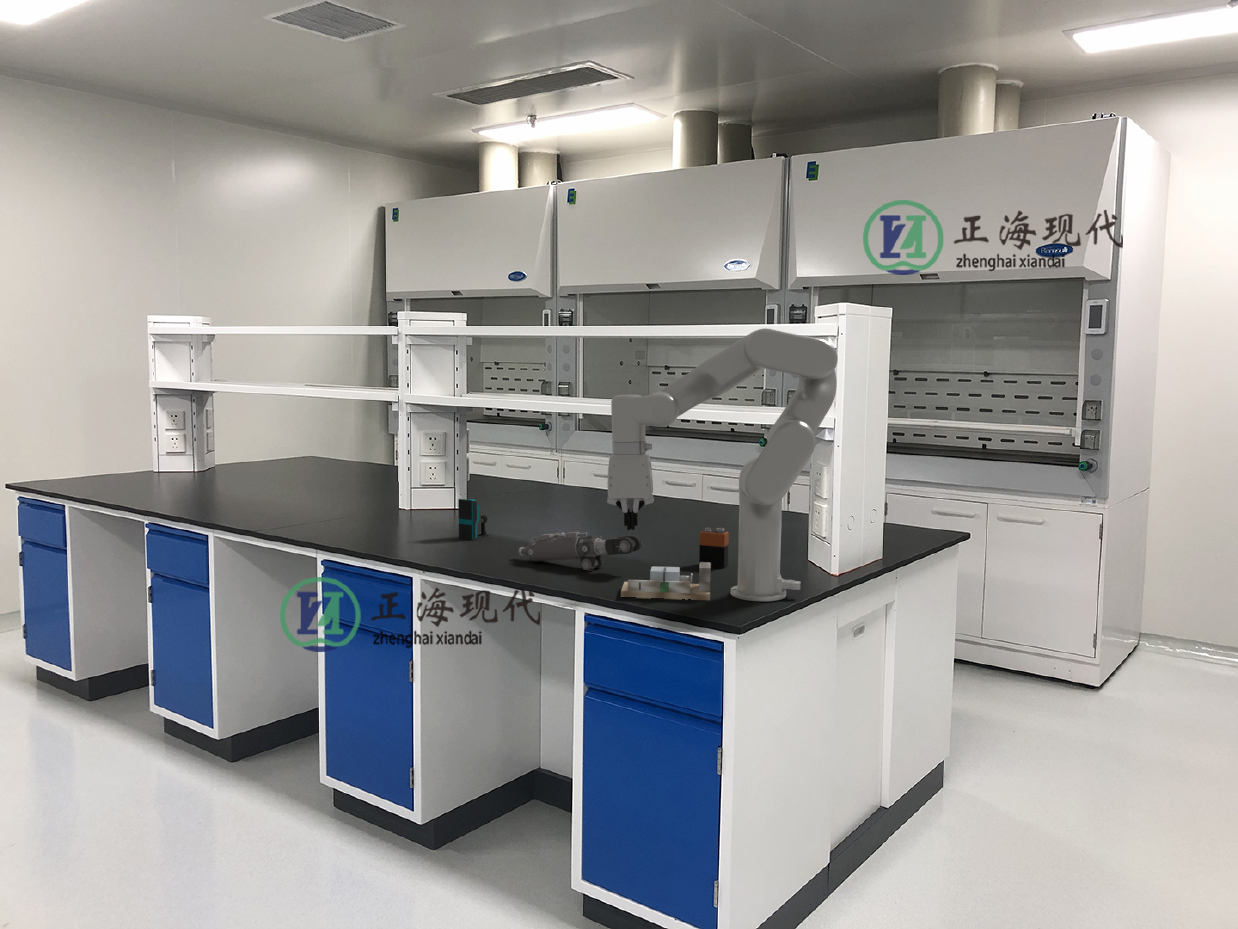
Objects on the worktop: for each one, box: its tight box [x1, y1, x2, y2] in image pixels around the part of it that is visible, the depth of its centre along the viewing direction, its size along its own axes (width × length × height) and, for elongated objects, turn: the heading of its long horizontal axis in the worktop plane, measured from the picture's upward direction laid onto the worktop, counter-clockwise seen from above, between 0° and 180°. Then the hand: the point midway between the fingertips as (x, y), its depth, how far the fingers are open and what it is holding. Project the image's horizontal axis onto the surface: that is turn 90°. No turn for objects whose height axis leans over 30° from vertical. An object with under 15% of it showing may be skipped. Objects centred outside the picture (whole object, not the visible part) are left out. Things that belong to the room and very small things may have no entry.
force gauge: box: [649, 566, 694, 585], centre depth 212 cm, size 10×8×4 cm
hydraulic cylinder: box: [517, 531, 643, 572], centre depth 241 cm, size 7×37×10 cm, turn 59°
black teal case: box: [457, 498, 488, 541], centre depth 280 cm, size 6×12×10 cm
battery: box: [698, 527, 730, 569], centre depth 244 cm, size 4×7×10 cm, turn 67°
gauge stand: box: [620, 562, 712, 601], centre depth 214 cm, size 20×9×7 cm, turn 85°
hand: (631, 529), depth 213 cm, fingers closed
